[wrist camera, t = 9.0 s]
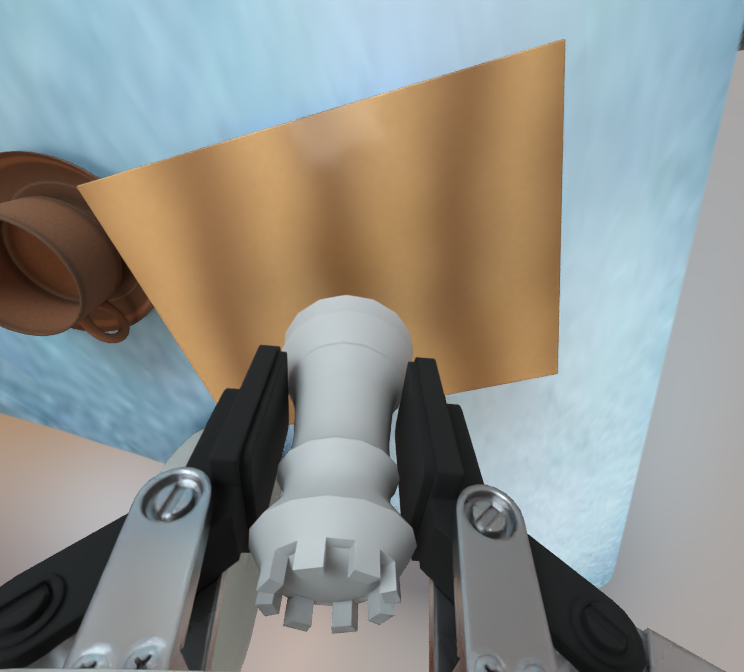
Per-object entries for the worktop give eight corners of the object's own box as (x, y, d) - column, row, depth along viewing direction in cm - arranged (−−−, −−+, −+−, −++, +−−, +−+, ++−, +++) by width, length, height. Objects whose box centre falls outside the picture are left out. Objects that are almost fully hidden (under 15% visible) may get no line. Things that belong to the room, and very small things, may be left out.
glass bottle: (308, 458, 38) (207, 1054, 14) (223, 482, 40) (10, 1039, 16) (258, 390, 33) (-25, 1131, 9) (164, 421, 35) (-269, 1096, 11)
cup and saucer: (202, 234, 25) (158, 268, 20) (134, 345, 30) (86, 395, 25) (8, 99, 21) (-111, 99, 16) (-34, 254, 26) (-135, 292, 21)
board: (550, 42, 13) (565, 38, 12) (548, 360, 20) (558, 373, 19) (95, 180, 15) (75, 186, 14) (242, 420, 22) (236, 435, 21)
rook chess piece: (351, 410, 15) (337, 669, 8) (260, 345, 13) (144, 604, 6) (437, 345, 13) (510, 602, 6) (346, 260, 11) (312, 491, 5)
